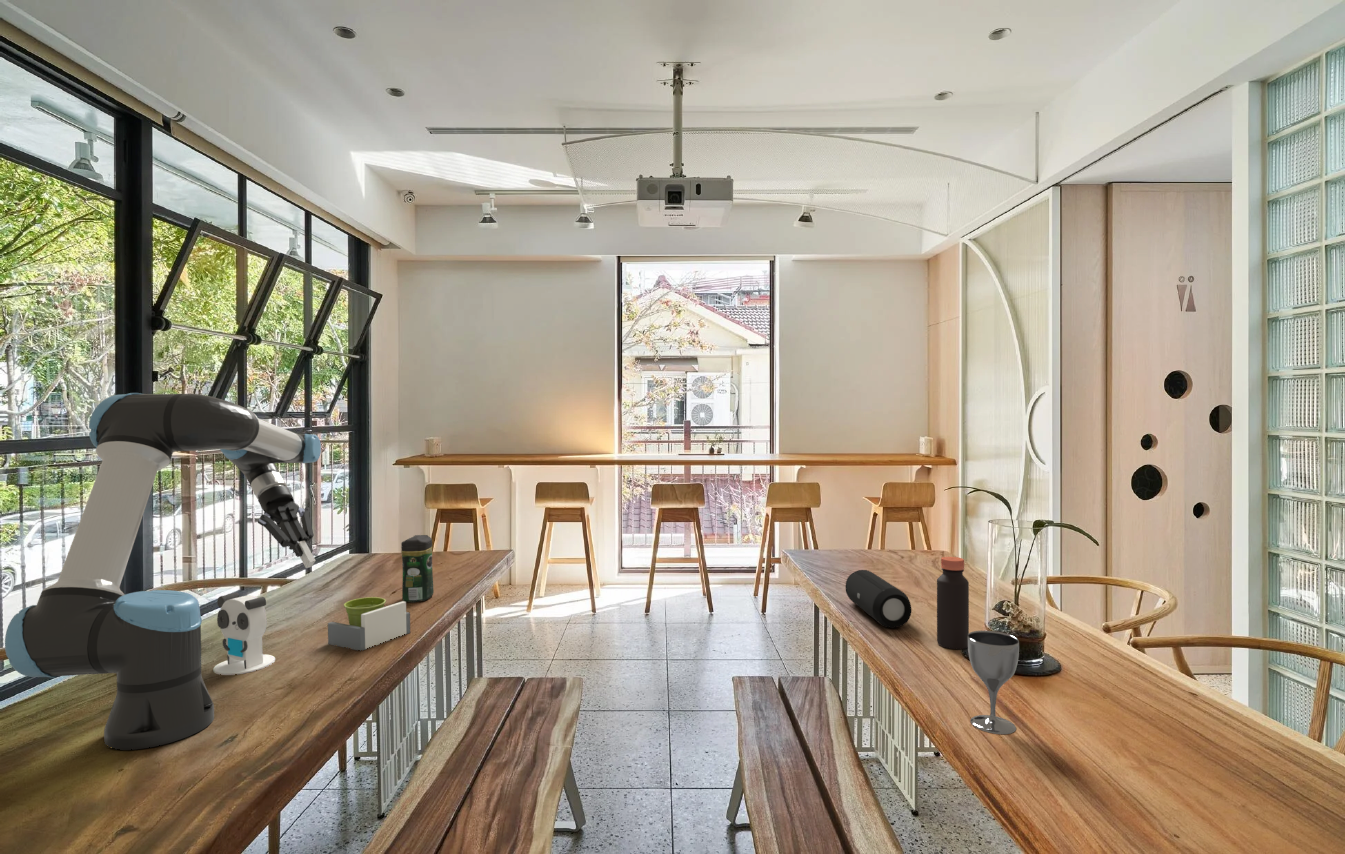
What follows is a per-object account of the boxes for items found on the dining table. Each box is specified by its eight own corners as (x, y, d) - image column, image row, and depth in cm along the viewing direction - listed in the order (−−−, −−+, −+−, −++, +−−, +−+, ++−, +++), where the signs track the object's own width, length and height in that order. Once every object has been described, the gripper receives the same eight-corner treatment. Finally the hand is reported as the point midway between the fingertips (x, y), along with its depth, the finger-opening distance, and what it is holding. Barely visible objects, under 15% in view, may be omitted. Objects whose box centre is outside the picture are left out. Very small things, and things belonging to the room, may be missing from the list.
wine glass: (975, 710, 121) (975, 627, 121) (1023, 722, 116) (1023, 636, 116) (961, 726, 115) (961, 639, 115) (1012, 740, 110) (1012, 649, 110)
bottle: (969, 642, 157) (969, 557, 157) (968, 651, 151) (968, 563, 151) (937, 638, 160) (937, 554, 160) (936, 647, 154) (935, 560, 154)
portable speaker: (842, 603, 192) (842, 568, 191) (876, 602, 192) (876, 567, 192) (876, 631, 166) (876, 591, 166) (915, 630, 167) (915, 590, 167)
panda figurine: (200, 669, 144) (198, 599, 144) (252, 652, 155) (251, 587, 154) (234, 678, 139) (232, 606, 139) (286, 660, 149) (285, 593, 149)
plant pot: (392, 631, 169) (392, 596, 169) (376, 643, 160) (376, 607, 160) (355, 631, 169) (354, 597, 169) (337, 644, 160) (336, 608, 159)
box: (360, 650, 155) (360, 616, 155) (328, 644, 160) (327, 610, 160) (410, 632, 168) (409, 600, 168) (378, 626, 173) (378, 595, 173)
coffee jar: (410, 594, 204) (409, 533, 204) (436, 594, 204) (435, 533, 204) (398, 603, 194) (397, 539, 194) (425, 602, 195) (424, 538, 194)
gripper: (292, 498, 186) (329, 566, 179) (241, 506, 175) (279, 579, 168) (302, 481, 183) (340, 550, 176) (251, 487, 172) (290, 561, 165)
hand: (310, 564), depth 172 cm, fingers closed
